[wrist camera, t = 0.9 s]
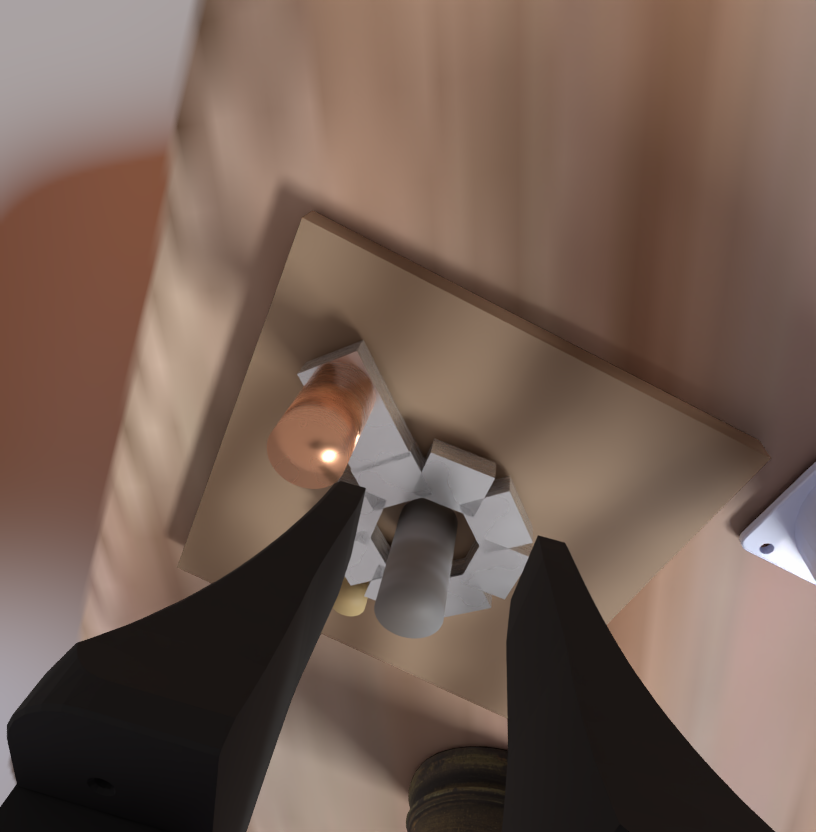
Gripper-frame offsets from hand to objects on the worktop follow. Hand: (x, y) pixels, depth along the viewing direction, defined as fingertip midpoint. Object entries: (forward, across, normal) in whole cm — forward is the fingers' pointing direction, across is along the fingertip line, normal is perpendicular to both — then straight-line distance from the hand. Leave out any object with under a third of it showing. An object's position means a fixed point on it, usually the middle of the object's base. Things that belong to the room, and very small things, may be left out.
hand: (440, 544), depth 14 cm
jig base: (+10, 0, +7) cm, 13 cm away
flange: (+9, +1, +5) cm, 10 cm away
